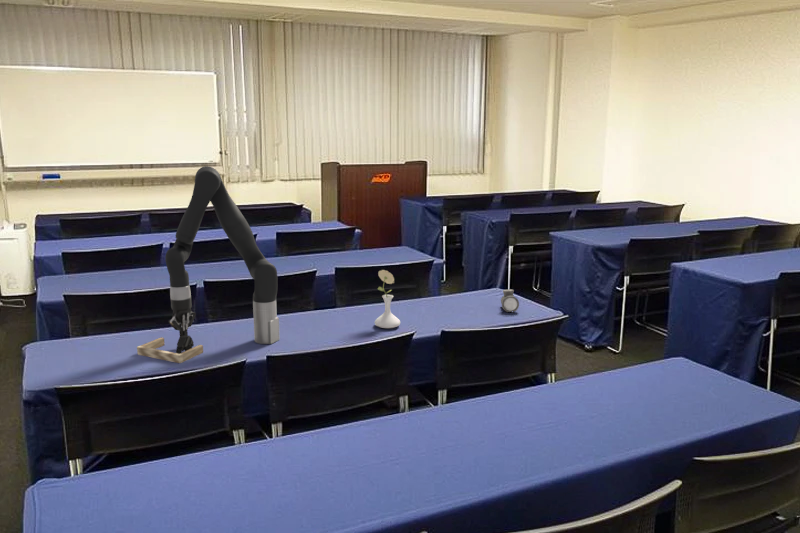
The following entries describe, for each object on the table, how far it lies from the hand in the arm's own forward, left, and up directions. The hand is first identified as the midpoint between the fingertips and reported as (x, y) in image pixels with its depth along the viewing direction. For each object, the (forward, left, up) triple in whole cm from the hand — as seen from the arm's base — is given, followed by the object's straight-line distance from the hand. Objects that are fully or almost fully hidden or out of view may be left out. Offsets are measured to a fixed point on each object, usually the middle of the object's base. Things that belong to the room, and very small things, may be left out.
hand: (184, 338), depth 253 cm
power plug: (-5, +6, -4) cm, 9 cm away
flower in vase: (-60, -60, -4) cm, 85 cm away
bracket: (0, +7, -4) cm, 8 cm away
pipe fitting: (-102, -109, -4) cm, 149 cm away
